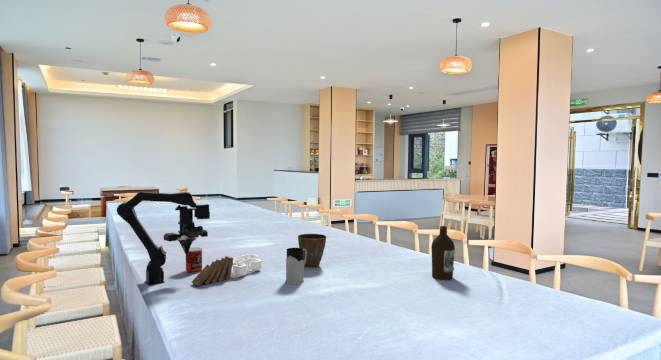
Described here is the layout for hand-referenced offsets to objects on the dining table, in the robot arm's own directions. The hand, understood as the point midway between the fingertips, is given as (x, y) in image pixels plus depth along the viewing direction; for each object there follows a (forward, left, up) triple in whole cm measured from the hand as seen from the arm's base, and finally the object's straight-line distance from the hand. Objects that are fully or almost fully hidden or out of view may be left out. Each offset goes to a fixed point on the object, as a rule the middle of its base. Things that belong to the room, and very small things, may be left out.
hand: (186, 253), depth 185 cm
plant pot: (+58, -22, -12) cm, 63 cm away
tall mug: (+36, -36, -12) cm, 52 cm away
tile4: (+9, -11, -12) cm, 19 cm away
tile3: (+6, -11, -12) cm, 17 cm away
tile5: (+13, -11, -12) cm, 21 cm away
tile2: (+3, -11, -12) cm, 16 cm away
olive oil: (+87, -81, -12) cm, 119 cm away
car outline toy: (+25, -9, -12) cm, 29 cm away
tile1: (-2, -11, -11) cm, 16 cm away
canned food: (+10, +12, -12) cm, 20 cm away
